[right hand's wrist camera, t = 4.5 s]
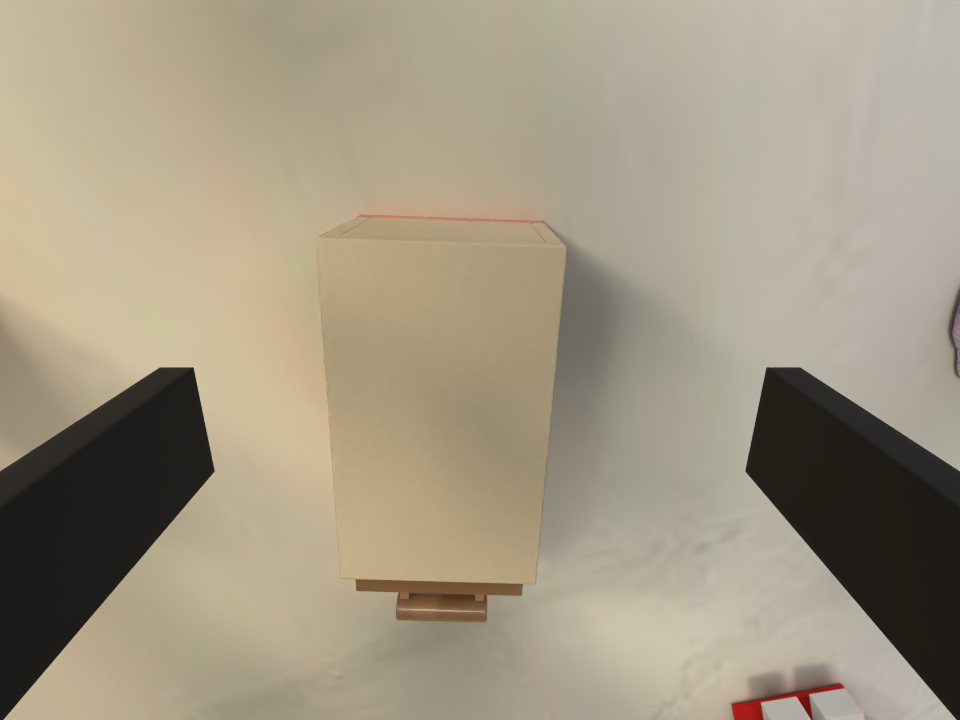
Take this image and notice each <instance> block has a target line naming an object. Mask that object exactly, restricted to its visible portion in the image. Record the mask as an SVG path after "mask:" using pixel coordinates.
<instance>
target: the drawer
mask: <svg viewBox="0 0 960 720" xmlns="http://www.w3.org/2000/svg"><path fill="white" fill-rule="evenodd" d="M522 585H523V584H506V583H471V582H437V581H402V580H368V579H356V590H357V591H377V592H399V593H398V598H397V606H396V618H397V620H414V621H449V622H486V621H487V595H516V596H521V595H522Z"/></svg>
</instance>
